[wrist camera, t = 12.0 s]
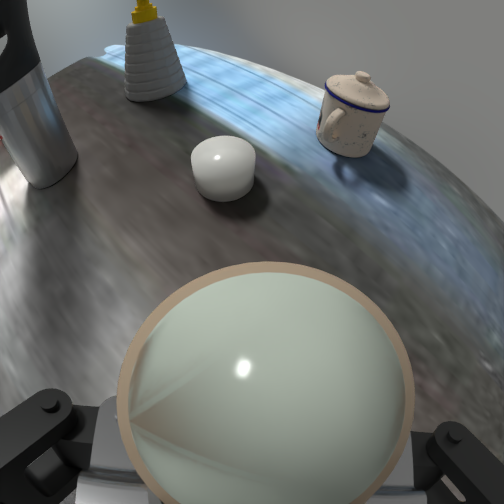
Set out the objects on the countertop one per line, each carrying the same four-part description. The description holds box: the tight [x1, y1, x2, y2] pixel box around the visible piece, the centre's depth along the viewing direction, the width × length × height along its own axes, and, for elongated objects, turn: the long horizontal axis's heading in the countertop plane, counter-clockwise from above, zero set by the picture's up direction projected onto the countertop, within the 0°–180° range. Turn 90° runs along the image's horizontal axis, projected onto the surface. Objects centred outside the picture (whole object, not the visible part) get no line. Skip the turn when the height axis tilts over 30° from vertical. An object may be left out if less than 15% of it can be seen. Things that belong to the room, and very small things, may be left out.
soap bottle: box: [125, 0, 186, 102], centre depth 36 cm, size 12×12×20 cm
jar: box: [116, 262, 415, 504], centre depth 8 cm, size 5×5×10 cm
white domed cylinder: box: [191, 136, 255, 202], centre depth 31 cm, size 7×7×4 cm
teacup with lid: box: [316, 71, 390, 157], centre depth 32 cm, size 12×9×12 cm
